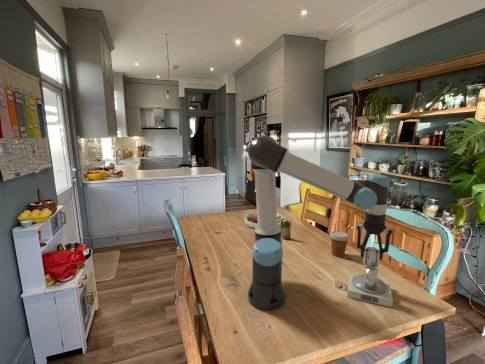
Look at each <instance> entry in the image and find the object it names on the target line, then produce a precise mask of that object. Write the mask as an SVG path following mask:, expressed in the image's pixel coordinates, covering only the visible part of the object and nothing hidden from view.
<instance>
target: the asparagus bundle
mask: <svg viewBox="0 0 485 364" xmlns="http://www.w3.org/2000/svg"><path fill="white" fill-rule="evenodd" d="M280 228H281V239H283V240H289V239H291V235H292V234H291V232H292V231H291V221H290V220H286V221H284V225H283V220H282V221H281V227H280Z"/></svg>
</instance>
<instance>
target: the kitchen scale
mask: <svg viewBox="0 0 485 364" xmlns="http://www.w3.org/2000/svg"><path fill="white" fill-rule="evenodd" d="M364 281H365V274H356V273H355V274H353V273H348V279H347V282H348V283H347V293H346V294H347V295H346V297H347V298H351V299H354V300H359V301H364V302H368V303H371V304H376V305H379V306H380V305H381V306H384V307H388V308H393V304H394V303H393V302H394V299H393V295H392V290H391V285H390V281H389V280H384V279H380V278H378V277H377V284H376V290H374V291H371V290H368V289H366V288H365V287H364Z"/></svg>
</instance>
